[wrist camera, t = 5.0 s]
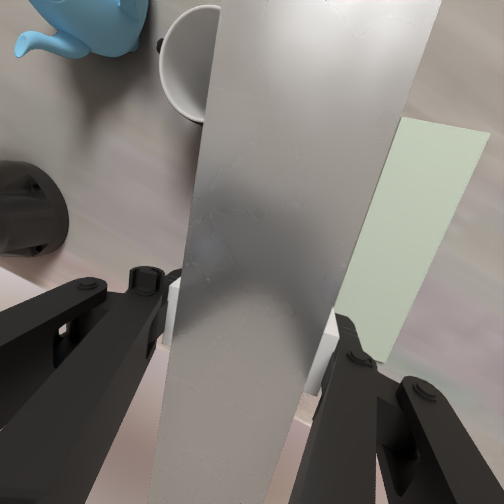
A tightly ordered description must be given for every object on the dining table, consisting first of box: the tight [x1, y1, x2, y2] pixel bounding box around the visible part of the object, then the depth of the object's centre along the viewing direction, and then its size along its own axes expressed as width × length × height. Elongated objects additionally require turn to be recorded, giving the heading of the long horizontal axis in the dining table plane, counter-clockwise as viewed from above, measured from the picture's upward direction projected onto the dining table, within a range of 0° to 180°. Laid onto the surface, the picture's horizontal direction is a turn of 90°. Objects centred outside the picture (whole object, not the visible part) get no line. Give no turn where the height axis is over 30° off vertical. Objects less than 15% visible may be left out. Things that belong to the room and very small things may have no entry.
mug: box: [157, 5, 221, 126], centre depth 27 cm, size 12×9×10 cm
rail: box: [148, 0, 442, 504], centre depth 11 cm, size 30×5×5 cm, turn 167°
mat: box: [333, 117, 491, 363], centre depth 32 cm, size 9×30×1 cm, turn 167°
